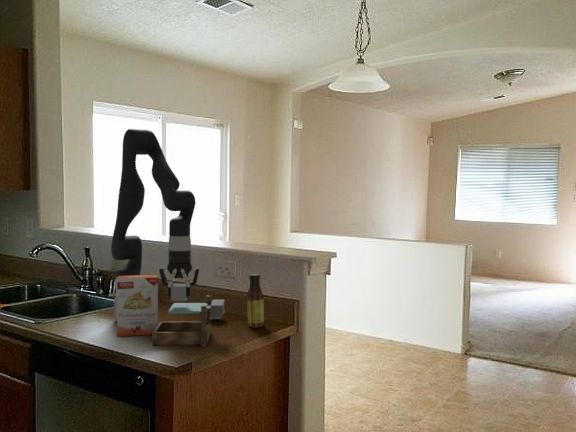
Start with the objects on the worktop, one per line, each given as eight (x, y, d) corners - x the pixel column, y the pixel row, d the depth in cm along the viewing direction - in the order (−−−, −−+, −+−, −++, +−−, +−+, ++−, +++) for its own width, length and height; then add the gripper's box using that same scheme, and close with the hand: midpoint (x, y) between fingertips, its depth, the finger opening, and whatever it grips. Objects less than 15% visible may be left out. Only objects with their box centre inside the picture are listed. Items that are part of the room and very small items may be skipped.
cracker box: (117, 337, 183) (116, 278, 182) (117, 332, 189) (117, 275, 188) (158, 334, 187) (158, 276, 186) (157, 330, 193) (157, 273, 192)
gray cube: (170, 301, 179) (170, 286, 178) (173, 297, 184) (173, 283, 183) (185, 301, 179) (185, 286, 179) (187, 297, 184) (187, 283, 184)
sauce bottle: (266, 325, 202) (267, 273, 201) (259, 329, 196) (259, 276, 195) (251, 323, 205) (252, 272, 203) (243, 326, 199) (244, 275, 198)
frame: (151, 347, 173) (151, 306, 172) (161, 332, 190) (161, 295, 190) (206, 347, 174) (206, 306, 173) (211, 332, 191) (211, 295, 191)
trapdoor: (168, 318, 175) (168, 306, 175) (174, 309, 187) (174, 298, 187) (222, 318, 176) (222, 306, 176) (224, 309, 188) (224, 298, 188)
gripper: (156, 249, 176) (156, 299, 177) (199, 250, 177) (199, 300, 178) (160, 247, 183) (160, 295, 185) (201, 247, 184) (201, 295, 185)
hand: (179, 297), depth 181 cm, fingers closed on gray cube, 5 cm apart
